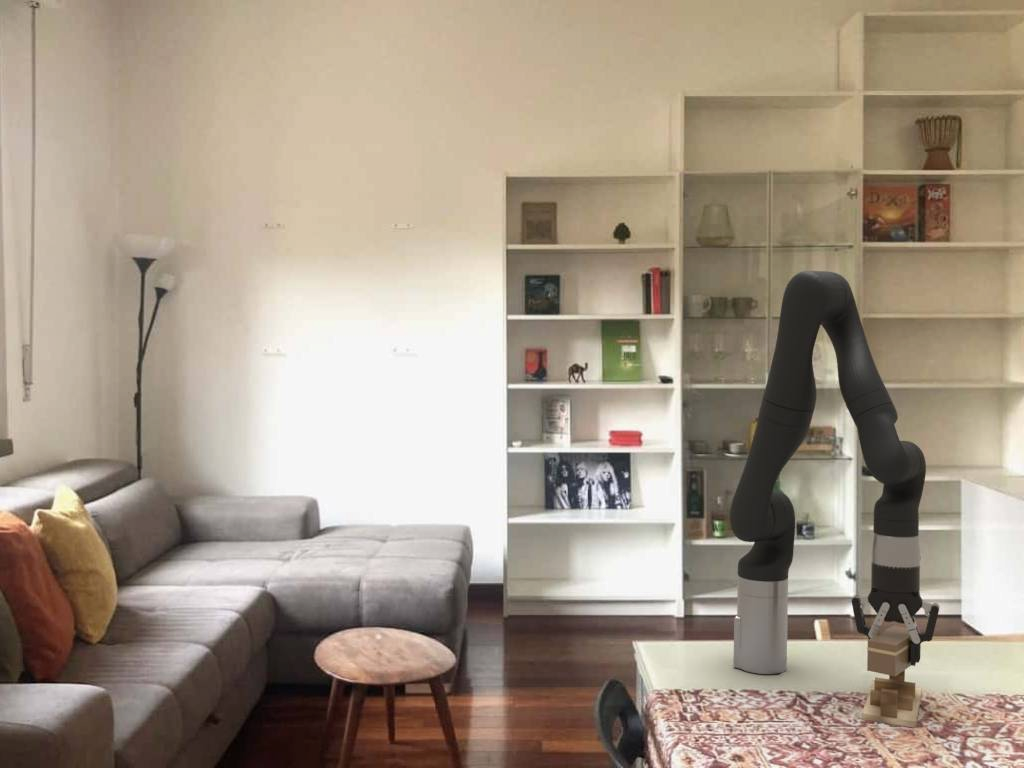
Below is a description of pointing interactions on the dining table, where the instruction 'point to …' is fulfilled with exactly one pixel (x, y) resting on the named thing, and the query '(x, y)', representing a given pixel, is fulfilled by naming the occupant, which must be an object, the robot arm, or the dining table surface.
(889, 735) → the dining table surface
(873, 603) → the robot arm
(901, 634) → the brown rectangular box
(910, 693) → the display cradle
